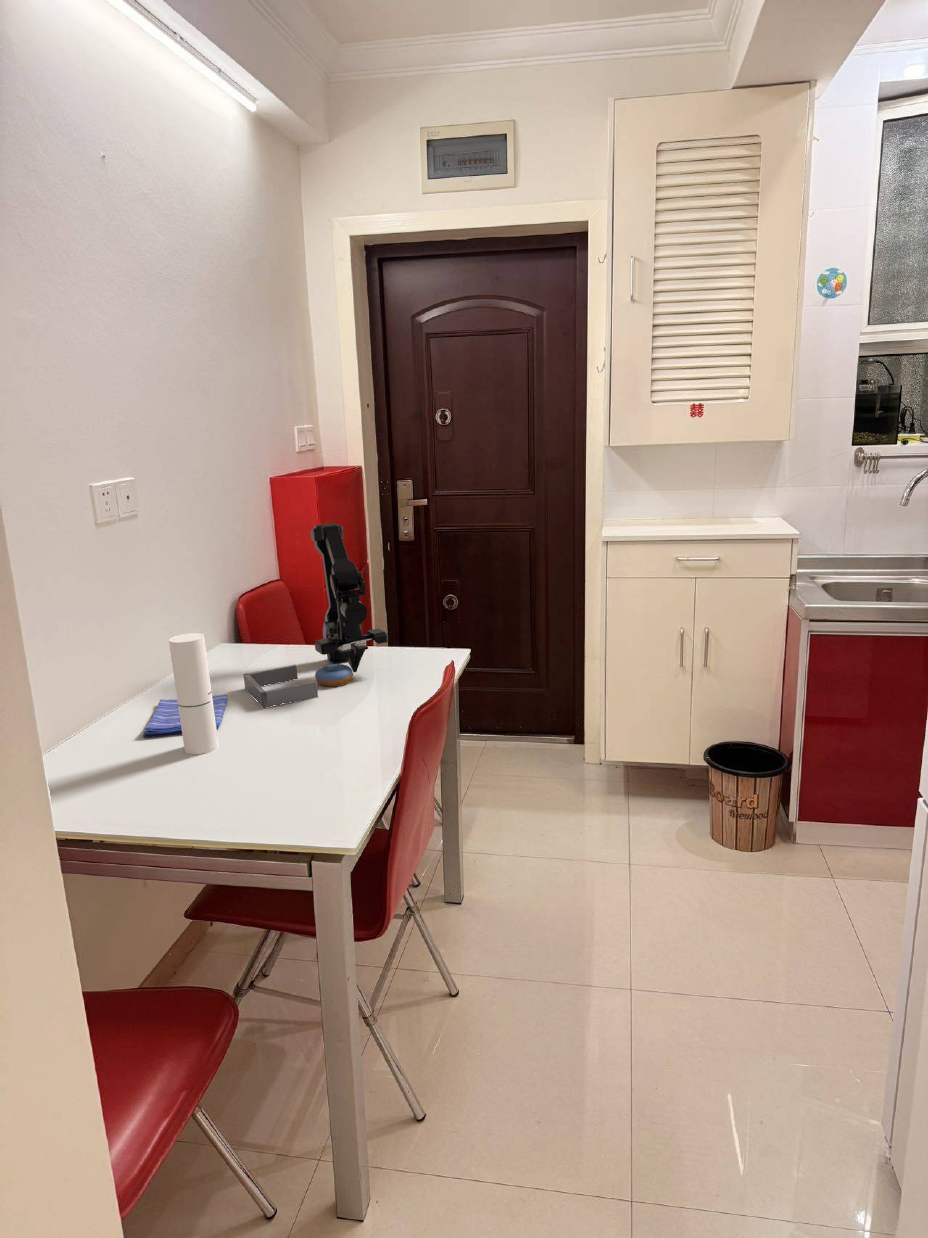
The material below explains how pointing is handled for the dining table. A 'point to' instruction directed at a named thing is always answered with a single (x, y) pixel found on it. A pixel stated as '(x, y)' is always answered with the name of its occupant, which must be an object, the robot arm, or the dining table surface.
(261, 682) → the box
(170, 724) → the dish towel
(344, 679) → the doughnut
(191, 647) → the cylindrical container
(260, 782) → the dining table surface
